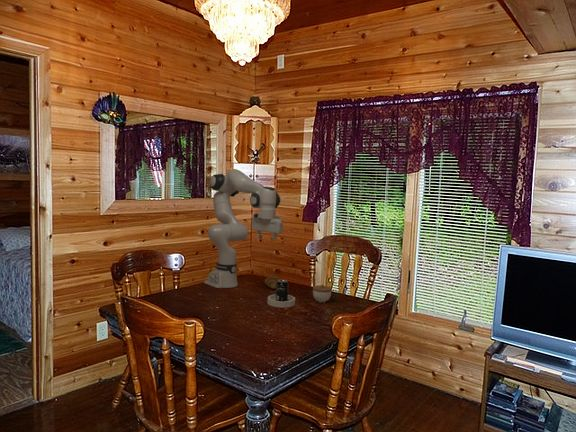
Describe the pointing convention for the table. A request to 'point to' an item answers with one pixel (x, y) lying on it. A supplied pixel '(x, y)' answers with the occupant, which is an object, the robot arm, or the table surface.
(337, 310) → the table surface
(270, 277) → the croissant
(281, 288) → the beverage can
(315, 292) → the lidded jar
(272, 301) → the pale grey round disc
